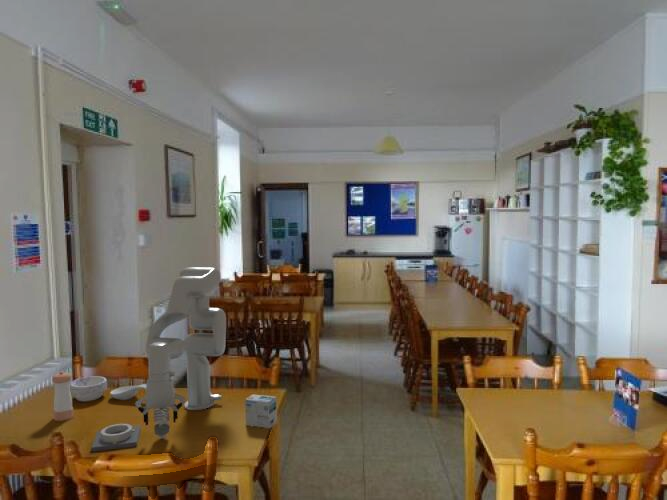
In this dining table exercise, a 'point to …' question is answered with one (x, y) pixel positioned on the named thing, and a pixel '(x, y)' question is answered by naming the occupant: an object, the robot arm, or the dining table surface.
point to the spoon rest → (126, 392)
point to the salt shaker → (62, 397)
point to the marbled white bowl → (88, 388)
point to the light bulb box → (261, 411)
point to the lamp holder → (116, 437)
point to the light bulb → (161, 427)
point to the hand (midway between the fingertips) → (160, 422)
